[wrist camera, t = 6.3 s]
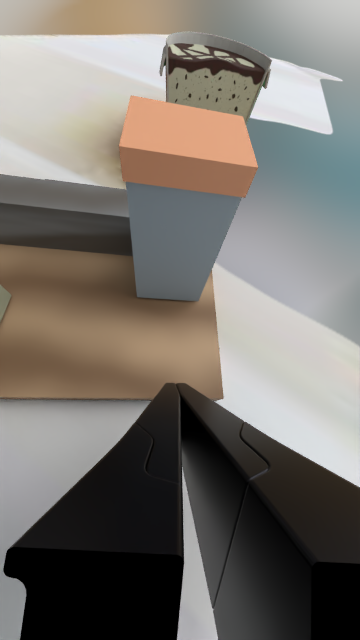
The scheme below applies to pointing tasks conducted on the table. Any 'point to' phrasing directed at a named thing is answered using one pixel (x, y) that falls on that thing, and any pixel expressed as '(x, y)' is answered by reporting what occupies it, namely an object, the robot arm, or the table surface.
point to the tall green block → (3, 300)
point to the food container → (213, 73)
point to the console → (90, 303)
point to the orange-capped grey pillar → (181, 191)
